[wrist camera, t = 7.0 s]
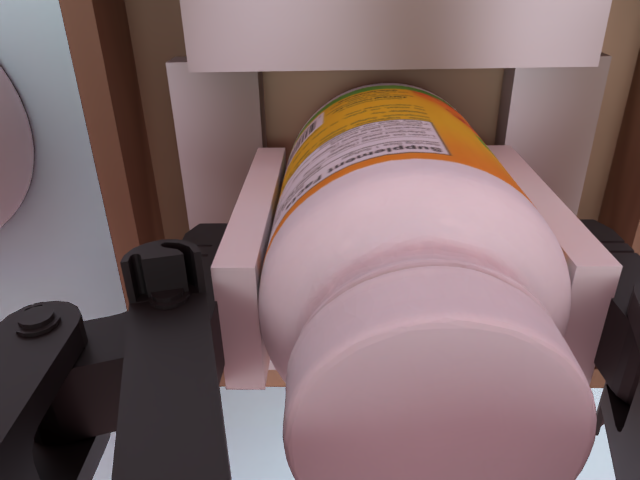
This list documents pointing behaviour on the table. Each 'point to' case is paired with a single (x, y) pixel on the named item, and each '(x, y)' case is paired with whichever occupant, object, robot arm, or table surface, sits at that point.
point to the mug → (13, 150)
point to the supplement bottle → (417, 304)
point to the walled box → (338, 77)
